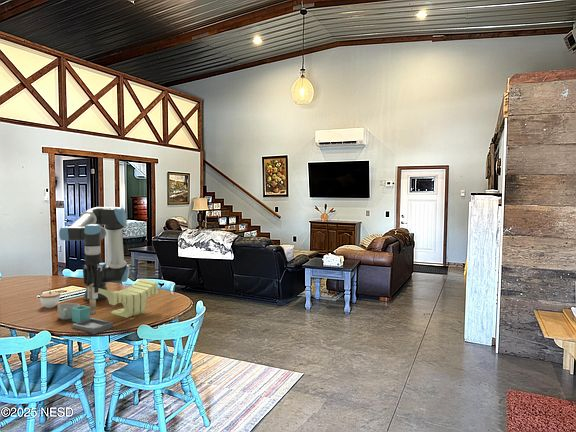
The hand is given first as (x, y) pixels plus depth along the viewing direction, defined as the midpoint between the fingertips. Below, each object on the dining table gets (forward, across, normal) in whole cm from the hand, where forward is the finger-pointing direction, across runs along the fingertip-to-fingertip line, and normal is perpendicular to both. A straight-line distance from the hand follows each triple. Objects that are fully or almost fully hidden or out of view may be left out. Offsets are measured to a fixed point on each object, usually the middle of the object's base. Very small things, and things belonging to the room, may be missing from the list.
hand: (92, 298), depth 206 cm
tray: (+16, 0, 0) cm, 16 cm away
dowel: (+9, 0, 0) cm, 9 cm away
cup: (+16, -14, +4) cm, 22 cm away
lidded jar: (+16, -56, +15) cm, 60 cm away
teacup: (+16, -24, +3) cm, 29 cm away
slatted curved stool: (+16, -2, +26) cm, 31 cm away
